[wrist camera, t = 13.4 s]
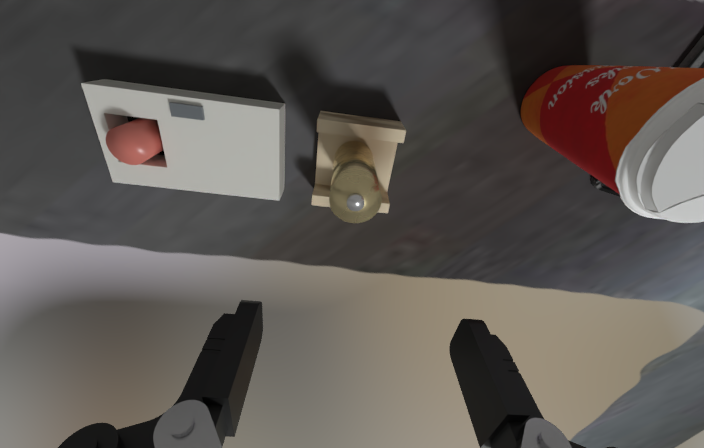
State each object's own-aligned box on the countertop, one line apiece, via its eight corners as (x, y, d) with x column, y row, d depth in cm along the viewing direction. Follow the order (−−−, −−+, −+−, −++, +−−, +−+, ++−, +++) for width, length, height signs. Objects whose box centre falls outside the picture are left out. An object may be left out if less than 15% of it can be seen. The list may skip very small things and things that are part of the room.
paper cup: (618, 44, 23) (902, 52, 11) (586, 142, 27) (770, 224, 15) (514, 56, 23) (683, 76, 12) (498, 151, 27) (612, 238, 16)
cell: (336, 138, 26) (331, 175, 19) (376, 143, 26) (386, 182, 19) (332, 176, 28) (326, 223, 21) (369, 180, 28) (377, 228, 21)
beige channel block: (314, 190, 29) (311, 205, 27) (320, 110, 25) (317, 118, 23) (384, 198, 30) (387, 213, 27) (400, 121, 26) (406, 130, 23)
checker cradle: (130, 171, 28) (110, 183, 26) (104, 78, 24) (77, 83, 22) (284, 188, 29) (278, 202, 27) (285, 103, 25) (278, 110, 23)
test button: (138, 148, 27) (112, 162, 24) (129, 114, 25) (100, 124, 22) (172, 152, 27) (151, 167, 24) (166, 119, 25) (142, 129, 22)
